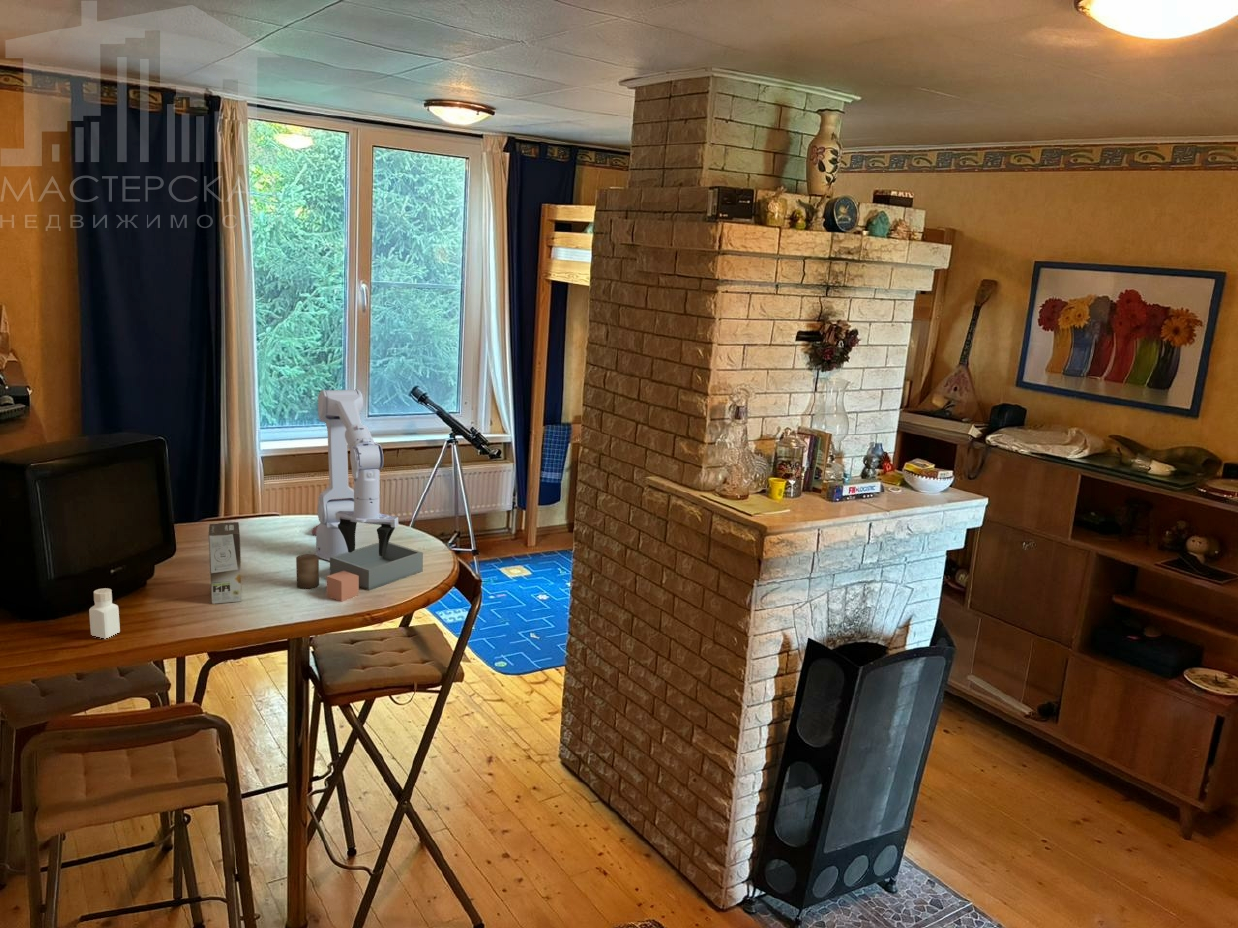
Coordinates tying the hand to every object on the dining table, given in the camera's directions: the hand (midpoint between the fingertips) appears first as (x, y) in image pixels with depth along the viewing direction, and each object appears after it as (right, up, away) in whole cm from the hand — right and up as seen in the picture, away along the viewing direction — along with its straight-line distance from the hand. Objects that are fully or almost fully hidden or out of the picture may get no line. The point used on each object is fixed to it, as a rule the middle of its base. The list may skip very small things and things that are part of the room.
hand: (366, 553), depth 217 cm
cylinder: (-15, -8, +4) cm, 18 cm away
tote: (-1, -7, +14) cm, 15 cm away
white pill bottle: (-45, -14, -28) cm, 55 cm away
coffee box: (-31, -9, -5) cm, 32 cm away
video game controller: (-22, +1, +43) cm, 49 cm away
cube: (-5, -10, -1) cm, 11 cm away
